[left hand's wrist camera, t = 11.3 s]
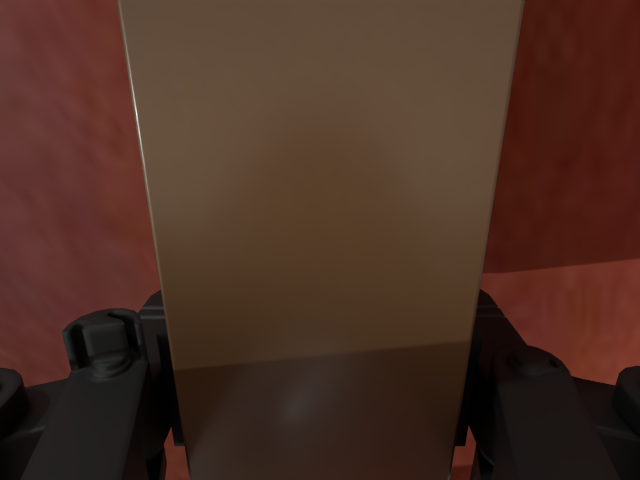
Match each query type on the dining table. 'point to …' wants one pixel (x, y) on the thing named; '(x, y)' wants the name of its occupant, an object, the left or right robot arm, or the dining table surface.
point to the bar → (320, 222)
